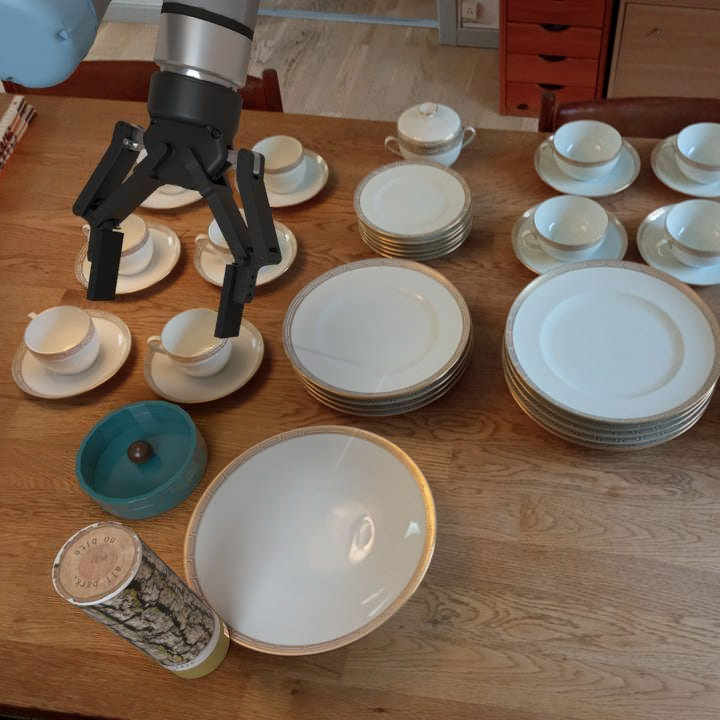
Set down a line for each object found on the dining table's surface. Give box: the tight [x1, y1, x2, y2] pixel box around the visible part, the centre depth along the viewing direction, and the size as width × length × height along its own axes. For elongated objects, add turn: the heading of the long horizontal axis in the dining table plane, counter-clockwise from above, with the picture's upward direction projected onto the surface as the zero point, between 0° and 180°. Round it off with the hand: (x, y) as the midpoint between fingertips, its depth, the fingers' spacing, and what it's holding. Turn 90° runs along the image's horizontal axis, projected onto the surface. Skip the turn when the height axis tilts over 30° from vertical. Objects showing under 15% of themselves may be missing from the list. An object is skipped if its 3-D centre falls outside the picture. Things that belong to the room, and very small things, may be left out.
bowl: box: [74, 400, 209, 520], centre depth 90 cm, size 14×14×4 cm
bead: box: [127, 440, 154, 464], centre depth 91 cm, size 3×3×3 cm
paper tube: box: [51, 521, 231, 680], centre depth 69 cm, size 7×7×25 cm
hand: (162, 318), depth 67 cm, fingers open, 13 cm apart
